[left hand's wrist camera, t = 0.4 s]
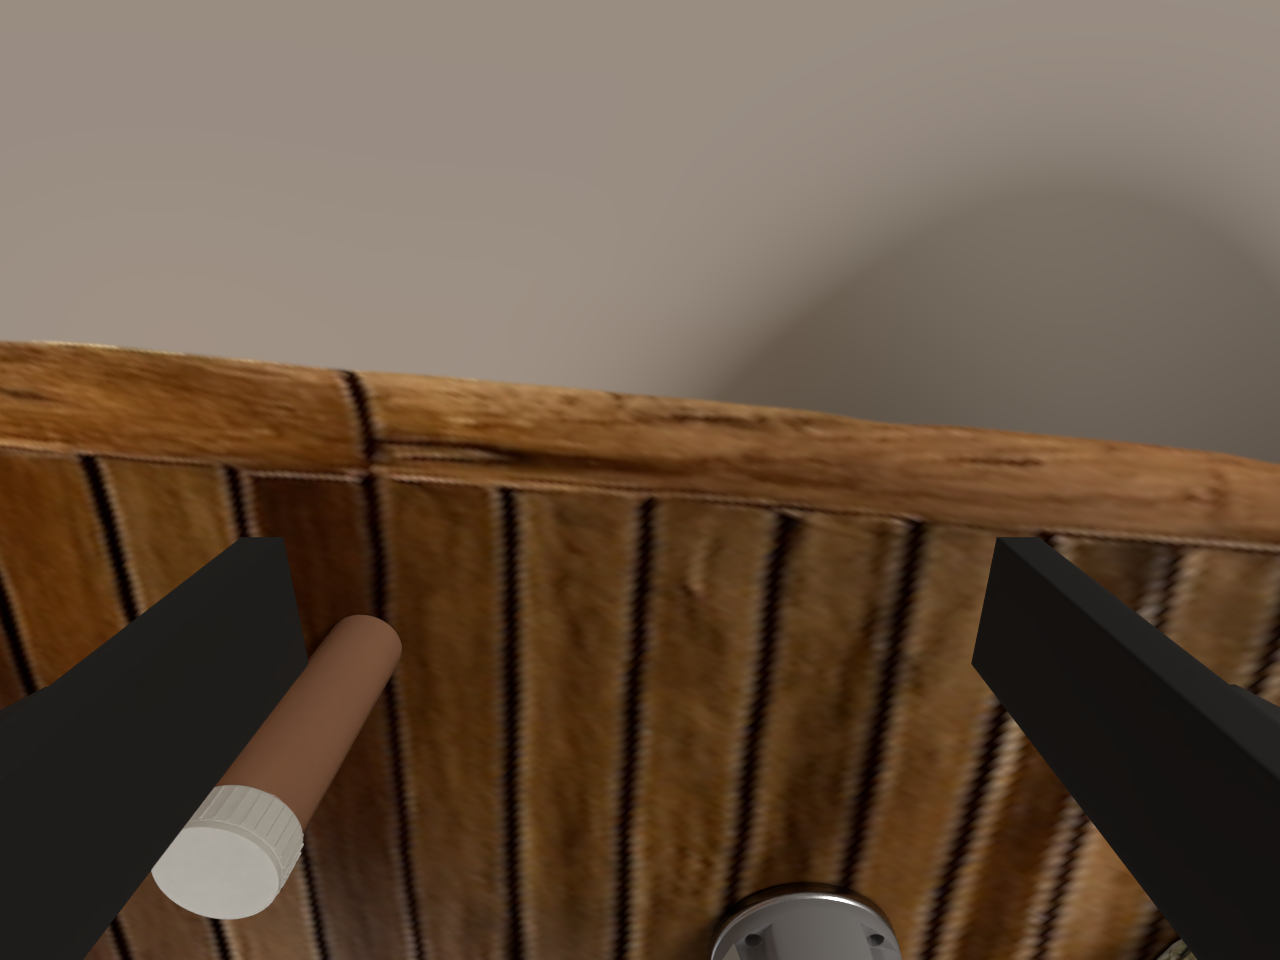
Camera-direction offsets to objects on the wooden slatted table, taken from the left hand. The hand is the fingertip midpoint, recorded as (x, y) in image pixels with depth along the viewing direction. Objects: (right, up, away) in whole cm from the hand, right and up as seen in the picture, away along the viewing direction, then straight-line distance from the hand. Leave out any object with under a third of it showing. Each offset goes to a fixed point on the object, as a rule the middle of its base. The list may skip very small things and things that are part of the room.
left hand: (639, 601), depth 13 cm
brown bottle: (-19, -9, +33) cm, 39 cm away
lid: (-19, -15, +17) cm, 29 cm away
